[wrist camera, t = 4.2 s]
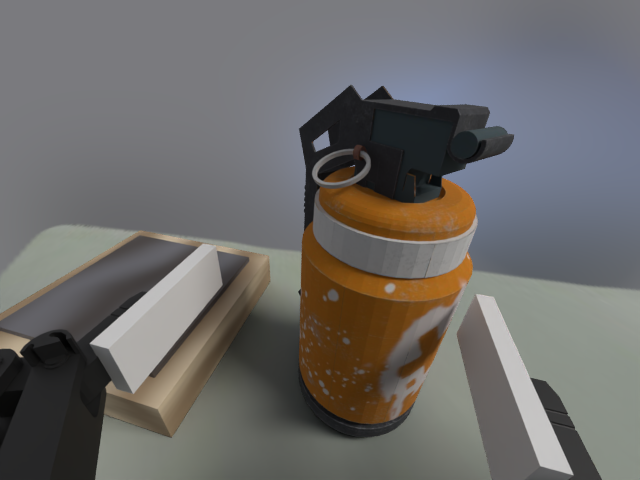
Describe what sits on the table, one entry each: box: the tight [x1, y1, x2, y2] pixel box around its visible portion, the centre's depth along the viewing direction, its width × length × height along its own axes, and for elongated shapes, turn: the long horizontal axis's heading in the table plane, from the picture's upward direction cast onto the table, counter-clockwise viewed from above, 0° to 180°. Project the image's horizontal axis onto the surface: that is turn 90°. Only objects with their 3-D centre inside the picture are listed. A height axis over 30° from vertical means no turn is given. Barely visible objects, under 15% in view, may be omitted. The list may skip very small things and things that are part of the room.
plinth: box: [0, 230, 270, 438], centre depth 24 cm, size 16×16×4 cm
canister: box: [298, 85, 514, 437], centre depth 17 cm, size 9×11×20 cm
